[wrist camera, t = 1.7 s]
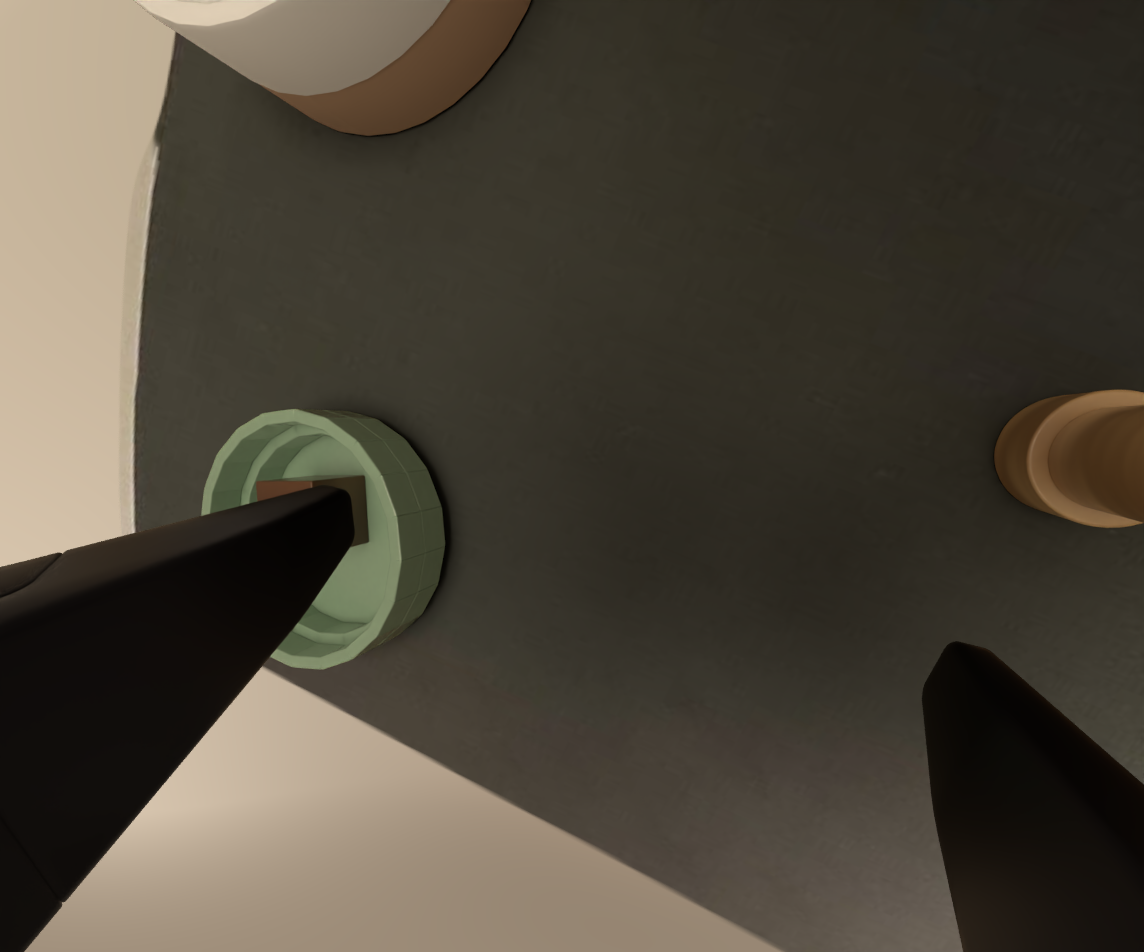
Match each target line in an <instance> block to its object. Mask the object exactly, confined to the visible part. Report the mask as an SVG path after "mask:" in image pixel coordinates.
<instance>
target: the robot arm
mask: <svg viewBox="0 0 1144 952" xmlns="http://www.w3.org/2000/svg"><path fill="white" fill-rule="evenodd" d="M354 536H355V527H354V519H353V510H352V502H351V496H350V495H349V493H348V492H347V491H346V490H344V489H341V488H337V487H333V486H329V485H319V486H316V487H312V488H308V489H304V490H300V491H296V492H292V493H288V494H284V495H280V496H277V497H273V498H269V499H265V500H261V501H257V502H253V503H249V504H245V505H242V506H238V507H234V508H230V509H226V510H222V511H218V512H214V513H210V514H207V515H203V516H199V517H195V518H191V519H187V520H183V521H179V522H175V523H172V524H168V525H164V526H160V527H156V528H152V529H148V530H144V531H140V532H137V533H133V534H129V535H125V536H121V537H117V538H114V539H109V540H105V541H101V542H98V543H94V544H90V545H86V546H82V547H78V548H74V549H70V550H67V551H65V552H64V553H63V554H62V553H55V554H51V555H47V556H43V557H39V558H35V559H31V560H27V561H24V562H19V563H15V564H11V565H7V566H3V567H0V952H24V951H25V950H26V949H27V948H28V946H29V945H30V944H31V943H32V941H33V940H34V939H35V938H36V937H37V936H38V935H39V933H40V932H41V931H42V930H43V928H44V927H45V926H46V925H47V924H48V922H49V921H50V920H51V919H52V918H53V916H54V915H55V914H56V913H57V912H58V910H59V909H60V908H61V907H62V902H65V901H66V900H67V899H68V898H69V897H70V896H71V894H72V893H73V892H74V891H75V890H76V888H77V887H78V886H79V885H80V883H81V882H82V881H83V880H84V879H85V878H86V876H87V875H88V874H89V873H90V872H91V870H92V869H93V868H94V867H95V866H96V864H97V863H98V862H99V861H100V860H101V858H102V857H103V856H104V855H105V854H106V853H107V851H108V850H109V849H110V848H111V847H112V845H113V844H114V843H115V842H116V841H117V839H118V838H119V837H120V836H121V835H122V833H123V832H124V831H125V830H126V829H127V827H128V826H129V825H130V824H131V823H132V821H133V820H134V819H135V818H136V817H137V815H138V814H139V813H140V812H141V811H142V809H143V808H144V807H145V805H147V803H148V802H149V801H150V800H151V798H152V797H153V796H154V795H155V794H156V793H157V791H158V790H159V789H160V788H161V787H162V785H163V784H164V783H165V782H166V781H167V779H168V778H169V777H170V776H171V775H172V773H173V772H174V771H175V770H176V769H177V768H178V766H179V765H180V764H181V762H183V760H184V759H185V758H186V757H187V755H188V754H189V753H190V752H191V751H192V750H193V748H194V747H195V746H196V745H197V744H198V742H199V741H200V740H201V739H202V738H203V736H204V735H205V734H206V733H207V731H208V730H209V729H210V728H211V727H212V726H213V724H214V723H215V722H216V721H217V720H218V718H219V717H220V716H221V715H222V714H223V712H224V711H225V710H226V709H227V708H228V706H229V705H230V704H231V703H232V702H233V700H234V699H235V698H236V697H237V696H238V695H239V693H240V692H241V691H242V690H243V689H244V687H245V686H246V685H247V684H248V682H249V681H250V680H251V679H252V678H253V677H254V675H255V674H256V673H257V672H258V671H259V669H260V668H261V667H262V666H263V665H264V663H265V662H266V661H267V660H268V659H269V657H270V656H271V655H272V654H273V653H274V651H275V650H276V649H277V648H278V647H279V645H280V644H281V643H282V642H283V641H284V639H285V638H286V637H287V636H288V635H289V633H290V632H291V631H292V630H293V629H294V627H295V626H296V625H297V624H298V622H299V621H300V620H301V618H302V617H303V616H304V614H305V613H306V611H307V610H308V609H309V607H310V606H311V604H312V603H313V602H314V600H315V599H316V597H317V596H318V594H319V593H320V591H321V590H322V588H323V587H324V585H325V584H326V582H327V581H328V579H329V578H330V576H331V575H332V573H333V572H334V571H335V569H336V568H337V566H338V565H339V563H340V562H341V560H342V559H343V557H344V556H345V554H346V553H347V551H348V550H349V548H350V547H351V545H352V543H353V540H354ZM922 705H923V715H924V725H925V735H926V745H927V755H928V766H929V776H930V786H931V796H932V803H933V811H934V817H935V822H936V827H937V832H938V837H939V842H940V846H941V851H942V856H943V860H944V865H945V869H946V874H947V879H948V883H949V888H950V892H951V897H952V902H953V906H954V911H955V915H956V920H957V925H958V929H959V934H960V938H961V943H962V948H963V952H1144V785H1143V784H1142V783H1141V782H1140V781H1139V780H1138V779H1137V778H1135V777H1134V776H1133V775H1132V774H1131V773H1130V772H1129V771H1127V770H1126V769H1125V768H1124V767H1123V766H1122V765H1121V764H1119V763H1118V762H1117V761H1116V760H1115V759H1114V758H1113V757H1111V756H1110V755H1109V754H1108V753H1107V752H1106V751H1105V750H1103V749H1102V748H1101V747H1100V746H1099V745H1098V744H1097V743H1095V742H1094V741H1093V740H1092V739H1091V738H1090V737H1089V736H1087V735H1086V734H1085V733H1084V732H1083V731H1082V730H1080V729H1079V728H1078V727H1077V726H1076V725H1075V724H1074V723H1072V722H1071V721H1070V720H1069V719H1068V718H1067V717H1066V716H1064V715H1063V714H1062V713H1061V712H1060V711H1059V710H1058V709H1056V708H1055V707H1054V706H1053V705H1052V704H1051V703H1050V702H1048V701H1047V700H1046V699H1045V698H1044V697H1043V696H1042V695H1040V694H1039V693H1038V692H1037V691H1036V690H1035V689H1034V688H1032V687H1031V686H1030V685H1029V684H1028V683H1027V682H1026V681H1024V680H1023V679H1022V678H1021V677H1020V676H1019V675H1018V674H1016V673H1015V672H1014V671H1013V670H1012V669H1011V668H1009V667H1008V666H1007V665H1006V664H1005V663H1004V662H1003V661H1001V660H1000V659H999V658H998V657H997V656H996V655H995V654H993V653H992V652H991V651H990V650H988V649H985V648H982V647H978V646H974V645H970V644H966V643H962V642H957V641H956V642H952V643H950V644H948V645H947V646H946V648H945V649H944V651H943V652H942V654H941V656H940V658H939V659H938V661H937V663H936V665H935V666H934V668H933V670H932V672H931V673H930V675H929V677H928V679H927V680H926V682H925V685H924V688H923V693H922Z"/></svg>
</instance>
